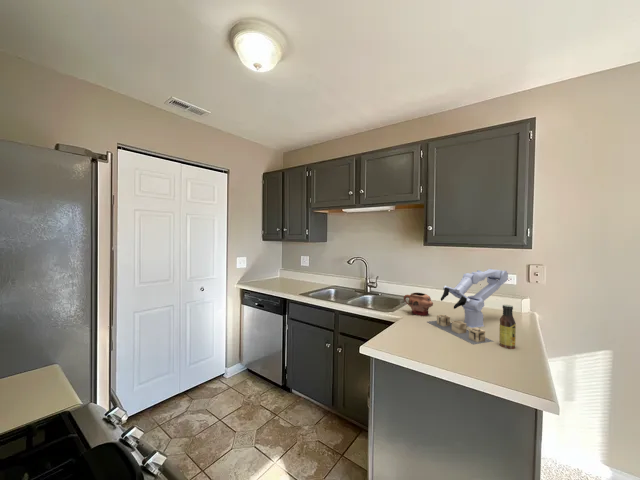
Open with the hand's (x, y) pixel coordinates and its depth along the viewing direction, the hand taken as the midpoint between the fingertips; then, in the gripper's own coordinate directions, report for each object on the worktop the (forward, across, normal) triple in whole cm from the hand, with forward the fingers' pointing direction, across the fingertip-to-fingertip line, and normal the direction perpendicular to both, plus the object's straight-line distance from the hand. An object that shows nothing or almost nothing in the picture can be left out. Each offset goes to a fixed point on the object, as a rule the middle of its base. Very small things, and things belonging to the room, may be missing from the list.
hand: (447, 303), depth 147 cm
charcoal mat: (+5, +9, +12) cm, 16 cm away
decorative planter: (+1, -18, +30) cm, 35 cm away
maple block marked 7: (+6, +20, +5) cm, 21 cm away
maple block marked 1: (+3, +1, +17) cm, 18 cm away
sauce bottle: (+2, +32, +3) cm, 32 cm away
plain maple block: (+5, +10, +11) cm, 16 cm away
